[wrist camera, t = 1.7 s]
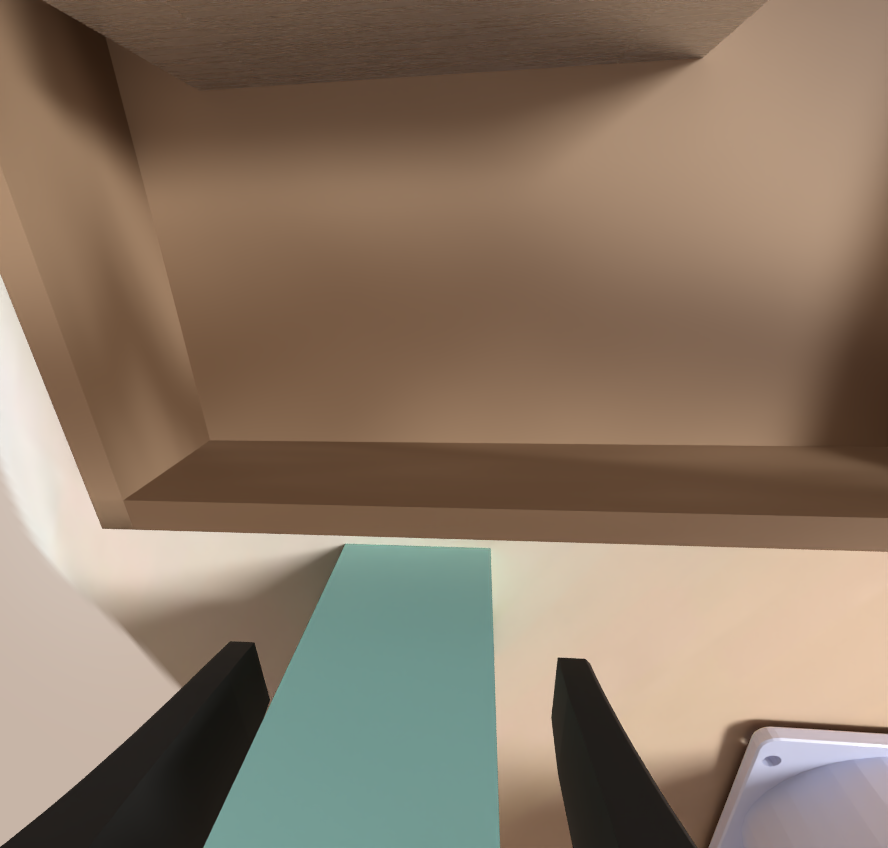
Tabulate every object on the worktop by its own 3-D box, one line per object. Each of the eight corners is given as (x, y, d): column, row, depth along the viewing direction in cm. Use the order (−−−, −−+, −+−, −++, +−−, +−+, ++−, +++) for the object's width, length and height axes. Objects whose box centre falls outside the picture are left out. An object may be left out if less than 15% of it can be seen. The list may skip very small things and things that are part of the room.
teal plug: (488, 655, 13) (495, 1066, 6) (360, 648, 13) (242, 1031, 7) (490, 548, 11) (503, 945, 5) (345, 544, 12) (175, 907, 5)
